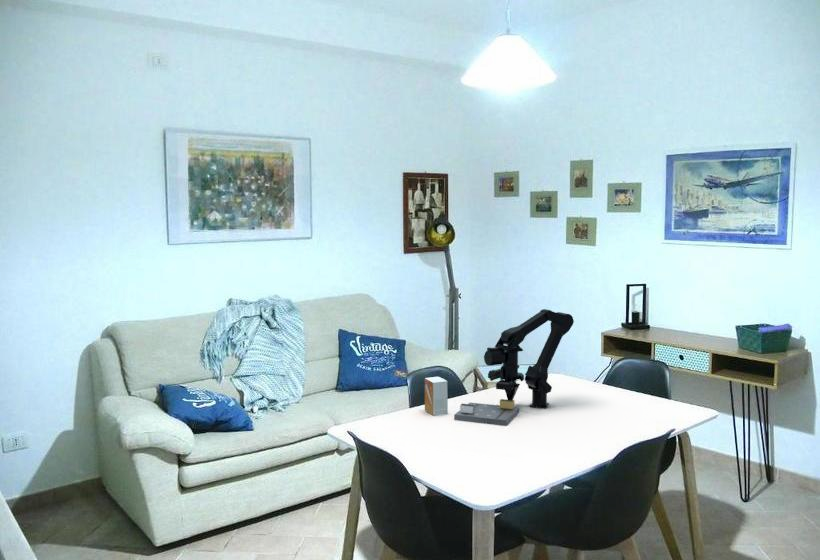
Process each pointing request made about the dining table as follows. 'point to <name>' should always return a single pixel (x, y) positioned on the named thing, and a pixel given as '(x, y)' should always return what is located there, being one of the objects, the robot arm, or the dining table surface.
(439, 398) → the small box
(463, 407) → the block
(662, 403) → the dining table surface
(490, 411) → the mixing board
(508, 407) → the amber fader
